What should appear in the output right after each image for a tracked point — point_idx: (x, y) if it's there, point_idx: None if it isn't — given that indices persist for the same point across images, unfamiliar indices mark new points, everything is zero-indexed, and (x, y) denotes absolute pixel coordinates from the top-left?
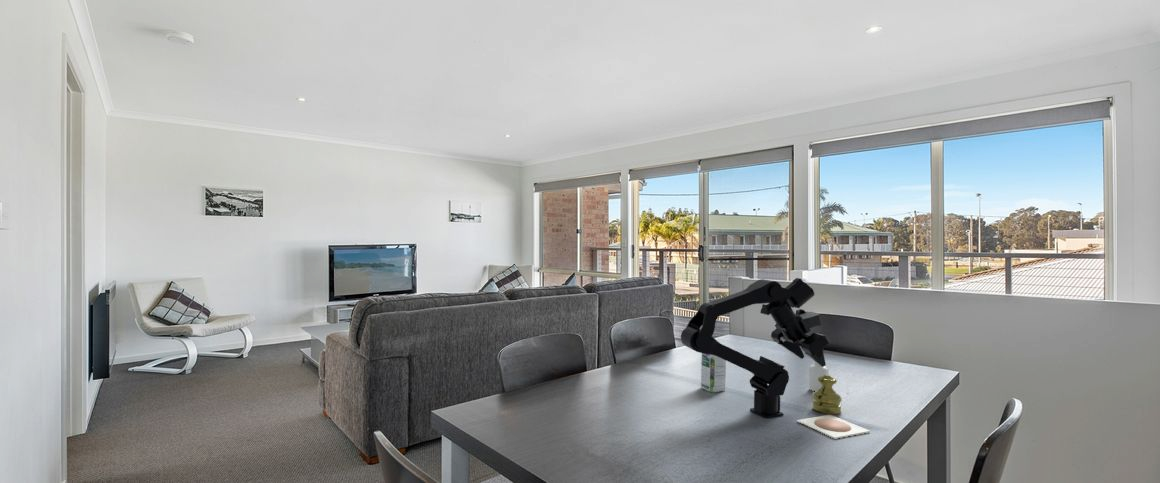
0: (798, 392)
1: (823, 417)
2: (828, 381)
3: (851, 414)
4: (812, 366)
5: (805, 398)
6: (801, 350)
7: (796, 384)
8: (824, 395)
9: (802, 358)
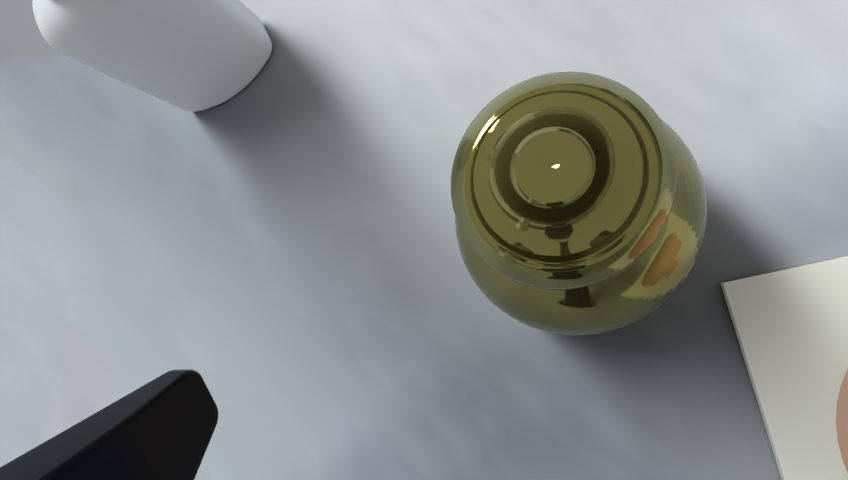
0: (227, 213)
1: (792, 386)
2: (660, 218)
3: (686, 89)
4: (64, 28)
5: (334, 235)
6: (80, 465)
7: (104, 139)
8: (643, 277)
9: (216, 407)
